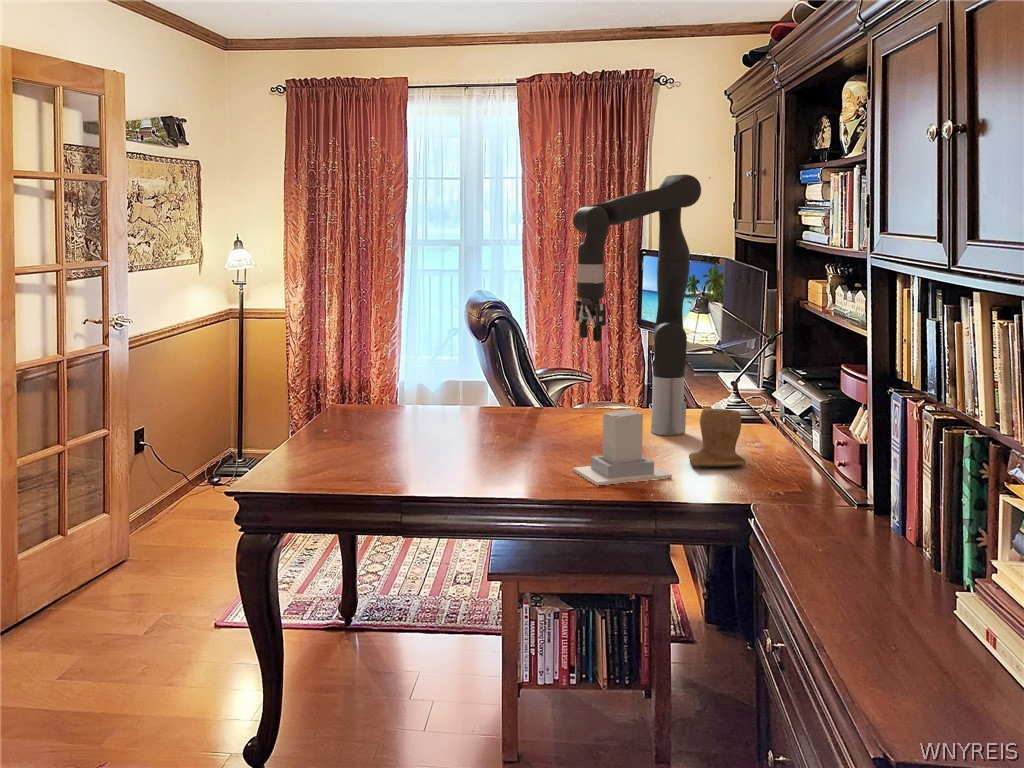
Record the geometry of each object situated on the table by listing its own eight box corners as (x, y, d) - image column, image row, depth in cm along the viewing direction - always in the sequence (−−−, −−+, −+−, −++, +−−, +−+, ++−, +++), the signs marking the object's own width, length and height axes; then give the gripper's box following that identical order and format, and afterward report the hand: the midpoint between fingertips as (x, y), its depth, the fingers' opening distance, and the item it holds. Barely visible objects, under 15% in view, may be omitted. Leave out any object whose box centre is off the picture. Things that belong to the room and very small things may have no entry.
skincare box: (628, 466, 225) (630, 408, 222) (643, 471, 220) (644, 412, 217) (600, 470, 221) (602, 411, 219) (614, 476, 216) (616, 415, 213)
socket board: (644, 464, 230) (644, 449, 230) (671, 478, 217) (672, 462, 217) (573, 471, 224) (573, 455, 223) (597, 486, 211) (597, 469, 210)
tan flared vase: (734, 458, 237) (736, 403, 235) (751, 470, 226) (754, 412, 223) (678, 460, 235) (680, 404, 233) (692, 471, 224) (695, 413, 221)
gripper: (567, 279, 250) (567, 337, 253) (589, 282, 237) (589, 343, 240) (591, 279, 253) (591, 336, 256) (614, 281, 240) (614, 341, 243)
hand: (590, 339), depth 248 cm, fingers open, 8 cm apart
